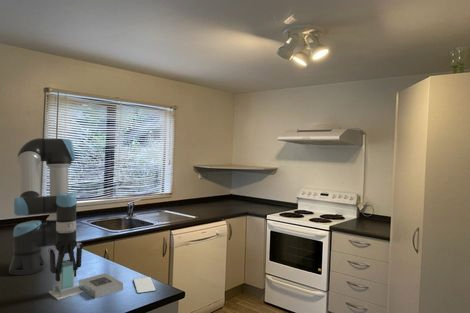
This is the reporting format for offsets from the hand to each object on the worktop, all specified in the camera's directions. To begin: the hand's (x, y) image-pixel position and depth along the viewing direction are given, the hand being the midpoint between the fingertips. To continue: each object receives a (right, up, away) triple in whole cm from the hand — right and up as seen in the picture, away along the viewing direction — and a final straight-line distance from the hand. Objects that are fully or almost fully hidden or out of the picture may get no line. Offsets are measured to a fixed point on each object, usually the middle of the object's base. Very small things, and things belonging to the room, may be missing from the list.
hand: (65, 286), depth 142 cm
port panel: (+13, -3, +5) cm, 14 cm away
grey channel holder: (0, -2, 0) cm, 2 cm away
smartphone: (+30, -3, +9) cm, 32 cm away
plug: (0, -2, 0) cm, 2 cm away
